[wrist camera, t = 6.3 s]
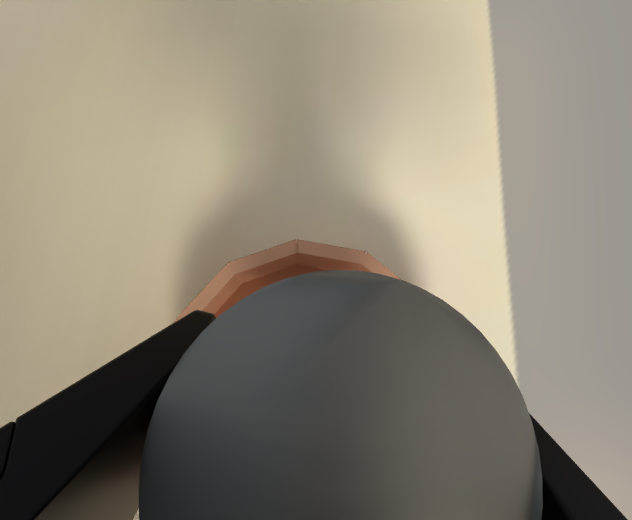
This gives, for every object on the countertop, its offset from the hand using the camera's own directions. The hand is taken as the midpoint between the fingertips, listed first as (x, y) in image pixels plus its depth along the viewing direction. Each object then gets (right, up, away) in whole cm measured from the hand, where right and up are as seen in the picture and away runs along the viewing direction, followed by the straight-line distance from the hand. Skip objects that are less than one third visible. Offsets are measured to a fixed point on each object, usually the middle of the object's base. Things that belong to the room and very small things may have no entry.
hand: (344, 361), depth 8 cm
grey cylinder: (-1, -3, +6) cm, 7 cm away
